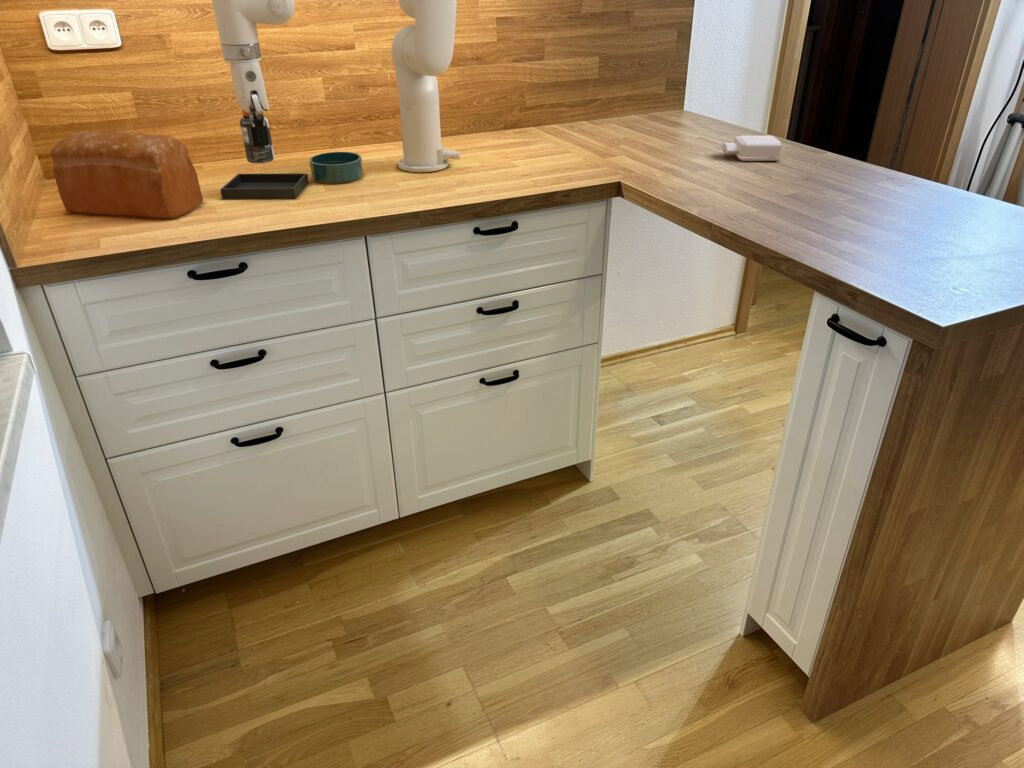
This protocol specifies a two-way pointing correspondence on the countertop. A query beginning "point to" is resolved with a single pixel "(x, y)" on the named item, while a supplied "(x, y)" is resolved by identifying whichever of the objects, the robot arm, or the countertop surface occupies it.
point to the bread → (125, 174)
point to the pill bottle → (252, 152)
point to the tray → (265, 186)
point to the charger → (753, 148)
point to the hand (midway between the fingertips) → (257, 141)
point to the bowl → (336, 167)
